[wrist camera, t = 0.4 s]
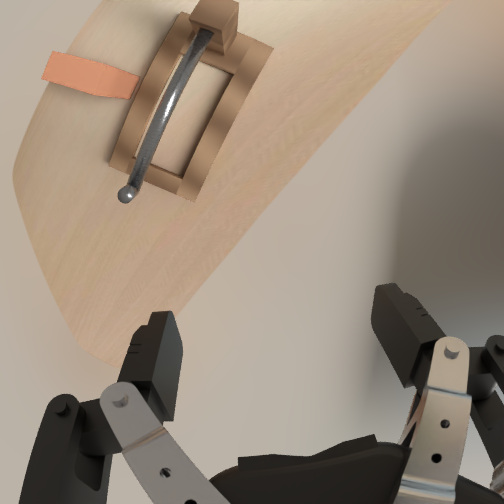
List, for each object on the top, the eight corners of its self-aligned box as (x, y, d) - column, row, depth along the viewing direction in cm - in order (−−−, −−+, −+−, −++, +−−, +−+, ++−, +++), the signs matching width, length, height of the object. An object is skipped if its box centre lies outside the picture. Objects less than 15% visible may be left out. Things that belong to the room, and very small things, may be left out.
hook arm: (200, 30, 21) (197, 21, 18) (214, 35, 21) (212, 26, 19) (125, 191, 27) (115, 199, 24) (138, 197, 27) (129, 205, 24)
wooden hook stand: (182, 14, 27) (162, -26, 16) (272, 50, 30) (291, 20, 19) (111, 164, 34) (65, 187, 23) (195, 199, 37) (180, 237, 26)
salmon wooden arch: (85, 84, 29) (41, 78, 20) (94, 63, 28) (52, 51, 19) (129, 99, 31) (93, 95, 21) (139, 77, 30) (107, 65, 20)
